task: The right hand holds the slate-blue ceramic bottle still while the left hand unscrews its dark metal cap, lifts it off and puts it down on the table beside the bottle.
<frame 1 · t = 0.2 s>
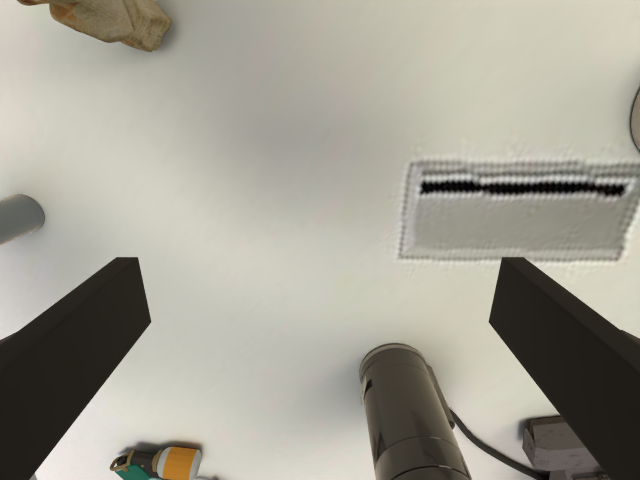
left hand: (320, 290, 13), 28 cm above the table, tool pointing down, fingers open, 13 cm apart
sculpture: (141, 17, 34), on the table
toy: (594, 455, 56), on the table
spray gun: (177, 473, 57), on the table
bottle: (25, 213, 41), on the table
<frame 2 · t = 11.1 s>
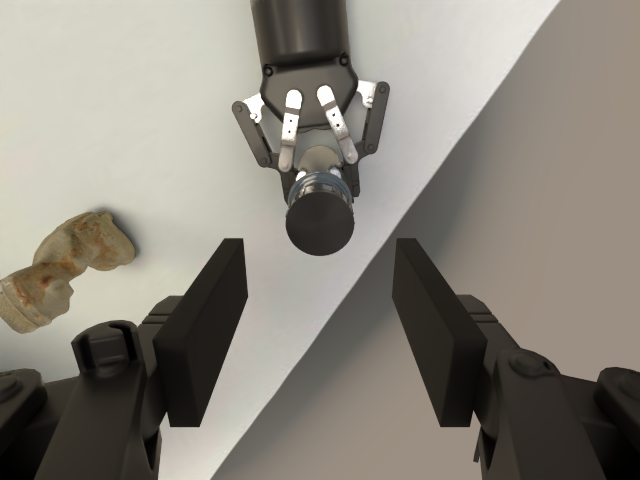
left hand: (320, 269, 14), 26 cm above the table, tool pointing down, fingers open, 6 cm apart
right hand: (323, 203, 34), fingers closed on bottle, 4 cm apart
cap: (319, 223, 20), point 20 cm above the table, screwed on, not yet turned
sculpture: (111, 234, 42), on the table
bottle: (320, 165, 39), on the table, touching right hand
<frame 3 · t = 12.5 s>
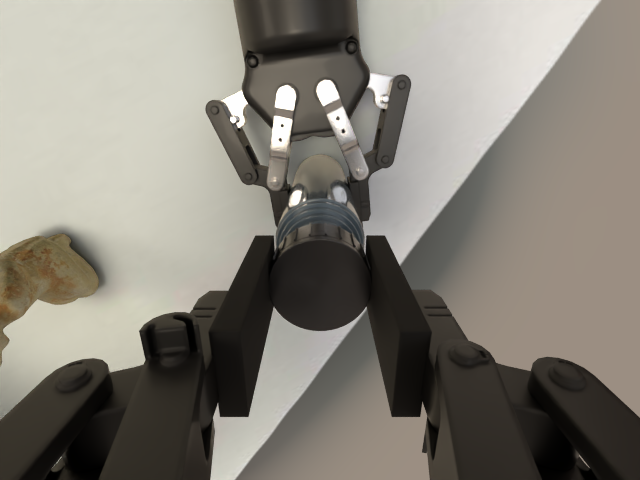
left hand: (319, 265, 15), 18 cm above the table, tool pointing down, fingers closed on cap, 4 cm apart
right hand: (324, 228, 27), fingers closed on bottle, 4 cm apart
cap: (320, 283, 13), point 20 cm above the table, screwed on, not yet turned, touching left hand
sculpture: (71, 260, 35), on the table
bottle: (320, 179, 32), on the table, touching right hand
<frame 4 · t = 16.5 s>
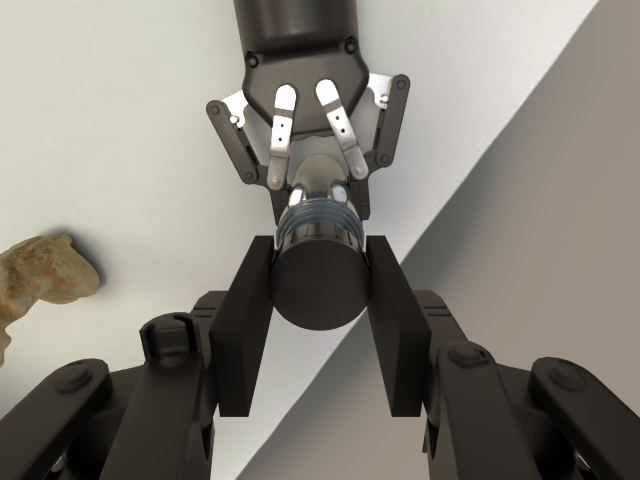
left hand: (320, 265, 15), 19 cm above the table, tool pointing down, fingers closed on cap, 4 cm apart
right hand: (324, 228, 27), fingers closed on bottle, 4 cm apart
cap: (320, 283, 13), point 20 cm above the table, turned 141° so far, risen 0.1 cm, still on its thread, touching left hand
sculpture: (72, 260, 35), on the table
bottle: (319, 178, 32), on the table, touching right hand
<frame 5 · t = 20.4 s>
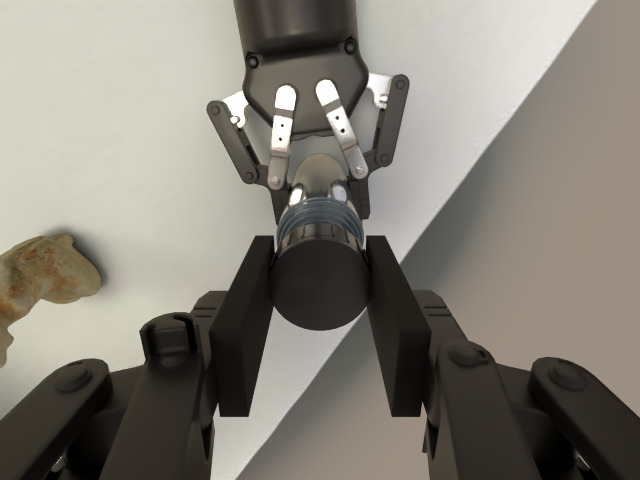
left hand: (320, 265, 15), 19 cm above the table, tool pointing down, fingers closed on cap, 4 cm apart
right hand: (324, 227, 27), fingers closed on bottle, 4 cm apart
cap: (320, 283, 13), point 20 cm above the table, turned 283° so far, risen 0.3 cm, still on its thread, touching left hand
sculpture: (74, 260, 35), on the table
bottle: (320, 178, 32), on the table, touching right hand
when the left hand's fingers open (2 cm above the table, at t = 26.9 s): cap drops 2 cm, point 2 cm above the table.
when the right hand's fingers open (6 cm above the table, at t = 28.2 s): bottle stays where it is, on the table.
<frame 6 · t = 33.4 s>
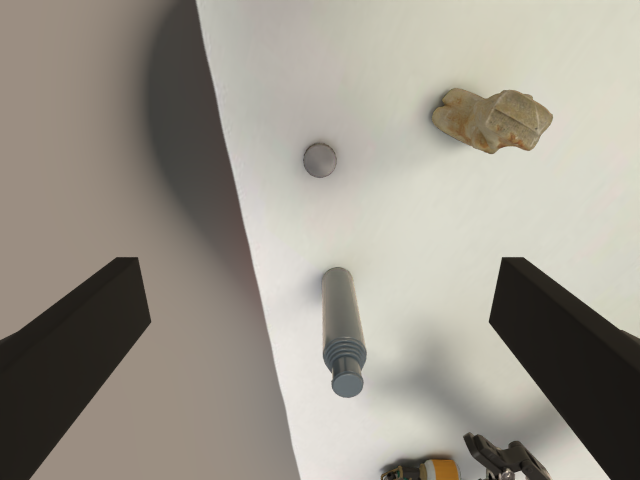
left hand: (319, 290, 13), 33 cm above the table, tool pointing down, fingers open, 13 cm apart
cap: (319, 161, 42), point 2 cm above the table, off its thread
sculpture: (459, 118, 42), on the table
bottle: (337, 281, 50), on the table
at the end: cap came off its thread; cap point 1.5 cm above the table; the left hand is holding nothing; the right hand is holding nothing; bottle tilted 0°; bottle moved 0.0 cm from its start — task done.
